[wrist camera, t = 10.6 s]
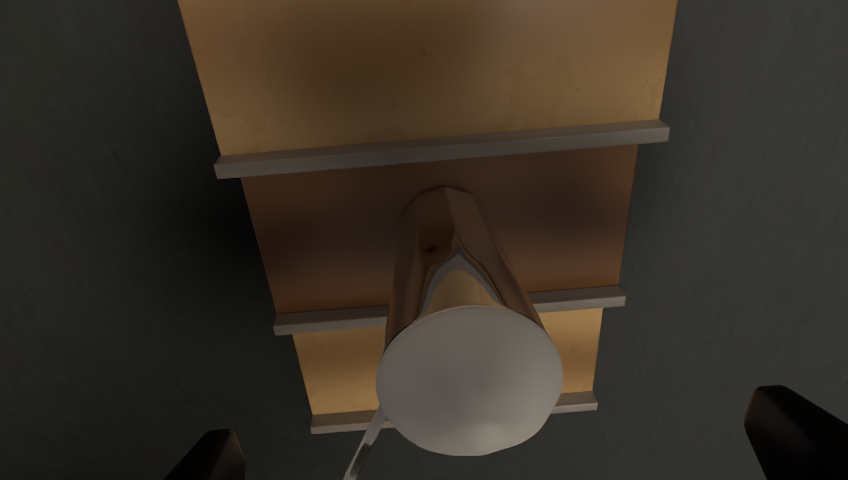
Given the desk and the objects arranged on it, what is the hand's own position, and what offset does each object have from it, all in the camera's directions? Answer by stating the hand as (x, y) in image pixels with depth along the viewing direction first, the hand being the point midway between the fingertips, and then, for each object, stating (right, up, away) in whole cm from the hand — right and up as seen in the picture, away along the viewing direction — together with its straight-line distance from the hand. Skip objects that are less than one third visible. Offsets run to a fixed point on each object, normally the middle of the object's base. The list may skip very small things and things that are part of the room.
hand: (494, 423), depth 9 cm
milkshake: (-1, +4, +11) cm, 12 cm away
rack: (-1, +4, +12) cm, 13 cm away
